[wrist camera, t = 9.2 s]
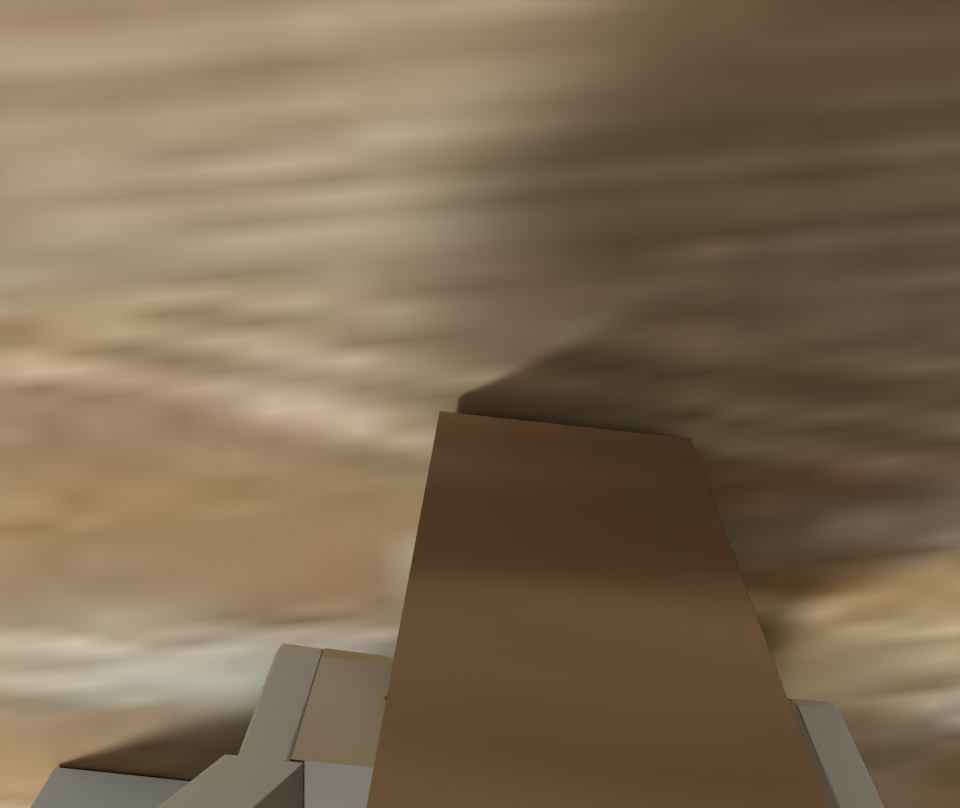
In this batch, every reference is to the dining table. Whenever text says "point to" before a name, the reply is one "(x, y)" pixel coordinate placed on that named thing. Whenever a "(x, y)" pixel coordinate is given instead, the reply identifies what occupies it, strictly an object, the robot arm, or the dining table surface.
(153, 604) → the dining table surface
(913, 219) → the dining table surface
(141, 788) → the shelf
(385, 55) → the dining table surface
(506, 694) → the brown l-shaped block
